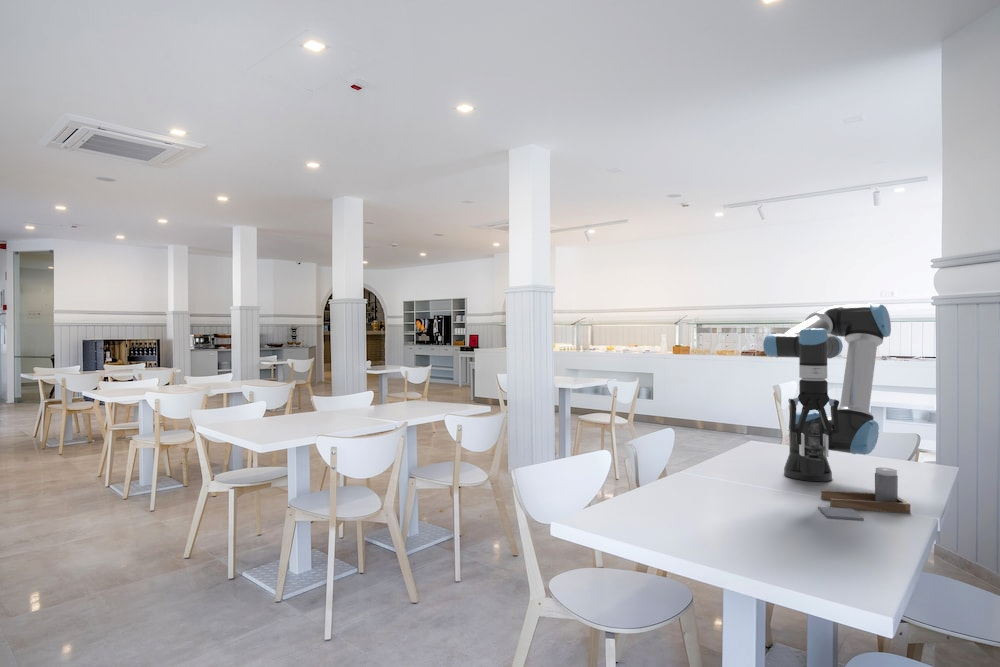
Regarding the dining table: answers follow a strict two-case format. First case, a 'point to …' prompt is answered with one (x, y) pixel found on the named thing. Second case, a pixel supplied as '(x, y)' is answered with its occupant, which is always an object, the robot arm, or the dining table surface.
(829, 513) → the coaster
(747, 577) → the dining table surface
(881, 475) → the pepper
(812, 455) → the grey chess piece
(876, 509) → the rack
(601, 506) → the dining table surface
